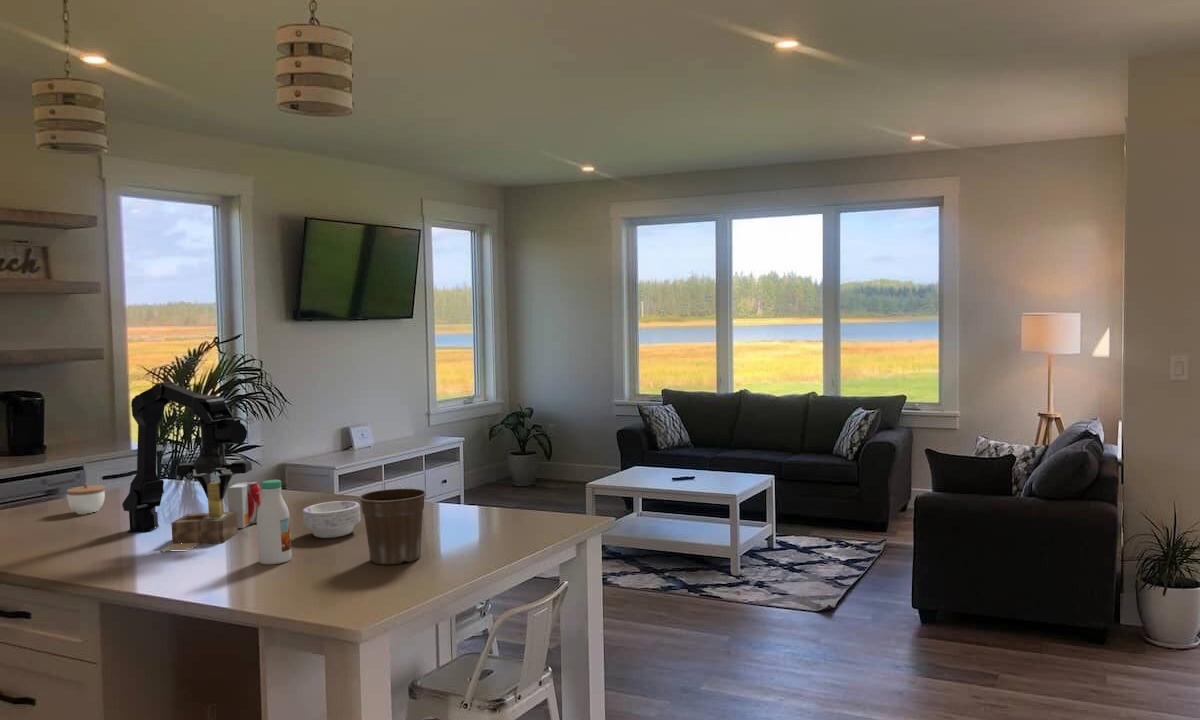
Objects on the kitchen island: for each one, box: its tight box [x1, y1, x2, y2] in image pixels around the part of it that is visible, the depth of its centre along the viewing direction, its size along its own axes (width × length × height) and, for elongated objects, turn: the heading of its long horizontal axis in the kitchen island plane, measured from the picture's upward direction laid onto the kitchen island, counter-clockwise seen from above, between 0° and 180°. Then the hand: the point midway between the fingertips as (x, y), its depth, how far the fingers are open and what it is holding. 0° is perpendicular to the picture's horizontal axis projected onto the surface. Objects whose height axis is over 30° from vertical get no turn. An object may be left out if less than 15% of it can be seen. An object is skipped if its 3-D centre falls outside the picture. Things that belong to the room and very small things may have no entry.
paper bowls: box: [302, 500, 362, 539], centre depth 256 cm, size 15×15×8 cm
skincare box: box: [227, 483, 251, 529], centre depth 269 cm, size 6×4×12 cm
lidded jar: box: [66, 482, 106, 515], centre depth 296 cm, size 11×11×9 cm
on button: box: [207, 514, 227, 519], centre depth 255 cm, size 4×4×3 cm
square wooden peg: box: [207, 481, 225, 517], centre depth 255 cm, size 3×3×9 cm
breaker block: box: [171, 511, 238, 544], centre depth 255 cm, size 14×11×6 cm
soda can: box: [236, 480, 262, 525], centre depth 273 cm, size 7×7×12 cm
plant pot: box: [358, 488, 427, 566], centre depth 228 cm, size 16×16×16 cm
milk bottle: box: [256, 479, 293, 565], centre depth 229 cm, size 8×8×20 cm
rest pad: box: [160, 543, 199, 552], centre depth 246 cm, size 7×7×1 cm
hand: (215, 499), depth 255 cm, fingers closed on square wooden peg, 3 cm apart
